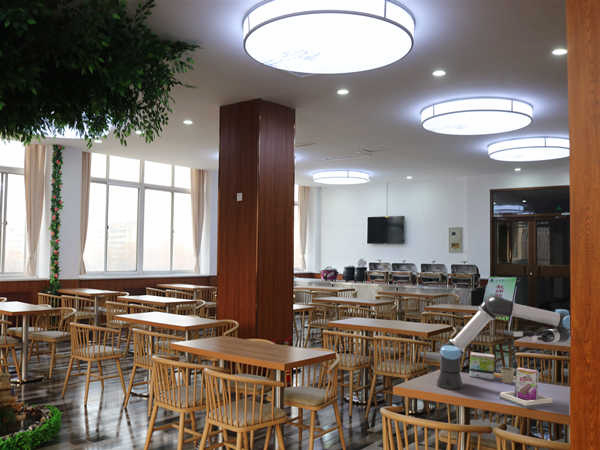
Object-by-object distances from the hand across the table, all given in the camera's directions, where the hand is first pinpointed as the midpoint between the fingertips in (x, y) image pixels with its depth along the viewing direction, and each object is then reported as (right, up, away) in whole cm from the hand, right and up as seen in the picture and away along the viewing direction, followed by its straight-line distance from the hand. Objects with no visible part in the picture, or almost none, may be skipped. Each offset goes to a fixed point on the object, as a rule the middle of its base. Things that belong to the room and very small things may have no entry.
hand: (523, 336), depth 311 cm
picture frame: (-5, -33, -15) cm, 37 cm away
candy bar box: (-5, -32, -15) cm, 36 cm away
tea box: (-10, -36, +43) cm, 57 cm away
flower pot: (+2, -36, +29) cm, 46 cm away
